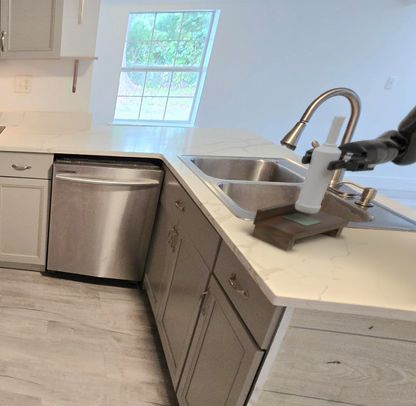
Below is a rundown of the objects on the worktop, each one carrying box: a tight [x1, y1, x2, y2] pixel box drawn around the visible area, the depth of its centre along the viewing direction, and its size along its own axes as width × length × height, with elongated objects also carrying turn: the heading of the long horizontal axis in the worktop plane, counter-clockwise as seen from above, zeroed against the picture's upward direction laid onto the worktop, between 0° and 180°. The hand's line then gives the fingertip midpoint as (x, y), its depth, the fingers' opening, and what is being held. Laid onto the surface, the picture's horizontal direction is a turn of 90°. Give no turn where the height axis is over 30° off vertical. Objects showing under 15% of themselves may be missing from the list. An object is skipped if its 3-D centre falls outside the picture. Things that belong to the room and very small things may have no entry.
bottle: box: [295, 115, 347, 214], centre depth 93 cm, size 5×5×25 cm
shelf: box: [251, 200, 350, 251], centre depth 100 cm, size 10×22×8 cm, turn 109°
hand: (316, 163), depth 92 cm, fingers closed on bottle, 5 cm apart
